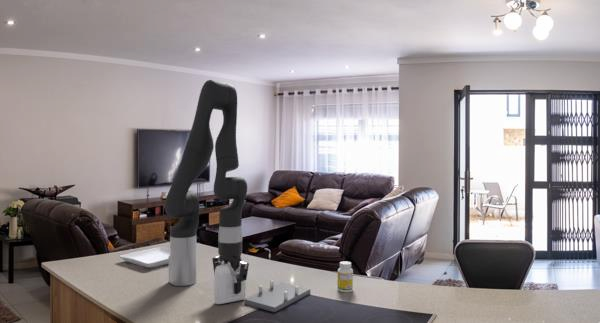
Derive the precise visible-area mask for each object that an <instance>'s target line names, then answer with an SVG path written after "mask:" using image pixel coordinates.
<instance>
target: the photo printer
mask: <svg viewBox="0 0 600 323" xmlns="http://www.w3.org/2000/svg"><path fill="white" fill-rule="evenodd" d="M238 271H239V268H238V269H237V270H236V271H234V272H235V273H236V272H238ZM237 278H238V274H237ZM234 283H235V282H234V279H233V276H232V275H231V272H230V268H229V267H228V264H222V265H219V266H217V267H216V268H215V275H214V288H213V289H214V292H213V293H214V294H213V296H214V299H213V300H214V304H216V305H222V304H227V303H233V302H238V301H239V302H240V301H242V300H244V299H246V280H244V281H242V282H241V292H240V293H239V294H234Z"/></svg>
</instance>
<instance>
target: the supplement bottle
mask: <svg viewBox="0 0 600 323" xmlns="http://www.w3.org/2000/svg"><path fill="white" fill-rule="evenodd" d="M353 289H354V270H353V268H352V262H351V261H347V260H346V261H344V260H343V261H340V262H339V268H338V269H337V290H338V291H339V292H342V293H350V292H352V291H353Z"/></svg>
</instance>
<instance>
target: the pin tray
mask: <svg viewBox="0 0 600 323" xmlns="http://www.w3.org/2000/svg"><path fill="white" fill-rule="evenodd" d="M263 289H264V288H263V285H262V284H261V285H260V284H259V285H258V292H257V293H255V294H252V295H251V296H249V297H245V299H243V300H244V302H243V304H244V305H248V306H250V307H255V308H258V309H261V310H265V311H268V312H272V313H277V311H280V310H282V309H283V308H286V307H287V306H289V305H291V304H293V303H295V302H297V301H298V300H301V299H302V298H304V297H307V296H308V295H310V294H311V288H307V287H302V286H299V285H295V284H290V283H286V282H279V283H277V284H276V285H275V283H274V280H270V282H269V288H266V289H264V290H263Z"/></svg>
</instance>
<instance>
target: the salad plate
mask: <svg viewBox="0 0 600 323" xmlns="http://www.w3.org/2000/svg"><path fill="white" fill-rule="evenodd" d="M169 256H170V247H169V248H168V247H164V246H163V247H162V246H158V247H153V248H148V249H144V250H139V251H134V252H129V253H126V254H121V255H119V257H120V259H122V260H123V261H125V262H126V263H127V262H128V263H131V264H134V265H138V266H141V267H143V268H148V269H149V268H150V269H151V268H157V267H161V266H165V265H169Z"/></svg>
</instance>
